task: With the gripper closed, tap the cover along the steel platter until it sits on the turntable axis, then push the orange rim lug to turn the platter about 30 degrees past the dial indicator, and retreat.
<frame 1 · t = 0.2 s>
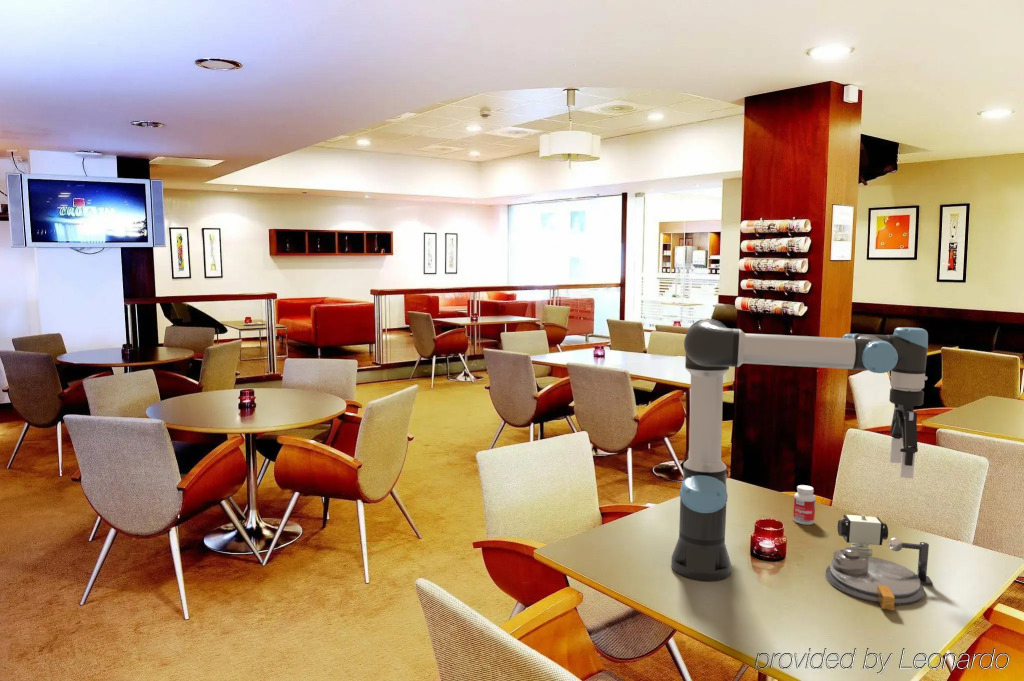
hand: (900, 469, 178), 27 cm above the table, fingers open, 13 cm apart
pneumatic valve: (860, 557, 190), on the table
cover: (850, 569, 175), point 3 cm above the table, touching turntable
turntable: (876, 578, 171), point 3 cm above the table, hinge at 0.0°, touching cover
turntable base: (873, 583, 174), on the table
pill bottle: (803, 522, 215), on the table
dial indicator: (921, 581, 175), on the table
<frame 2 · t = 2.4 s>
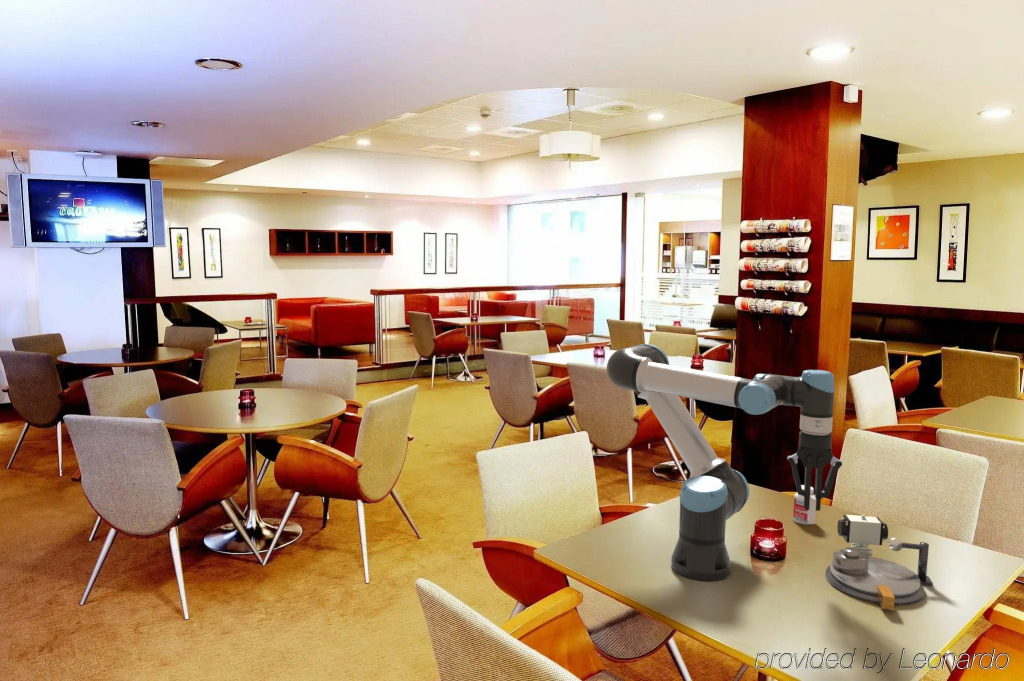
hand: (811, 521, 177), 14 cm above the table, fingers closed
nothing on the table moved.
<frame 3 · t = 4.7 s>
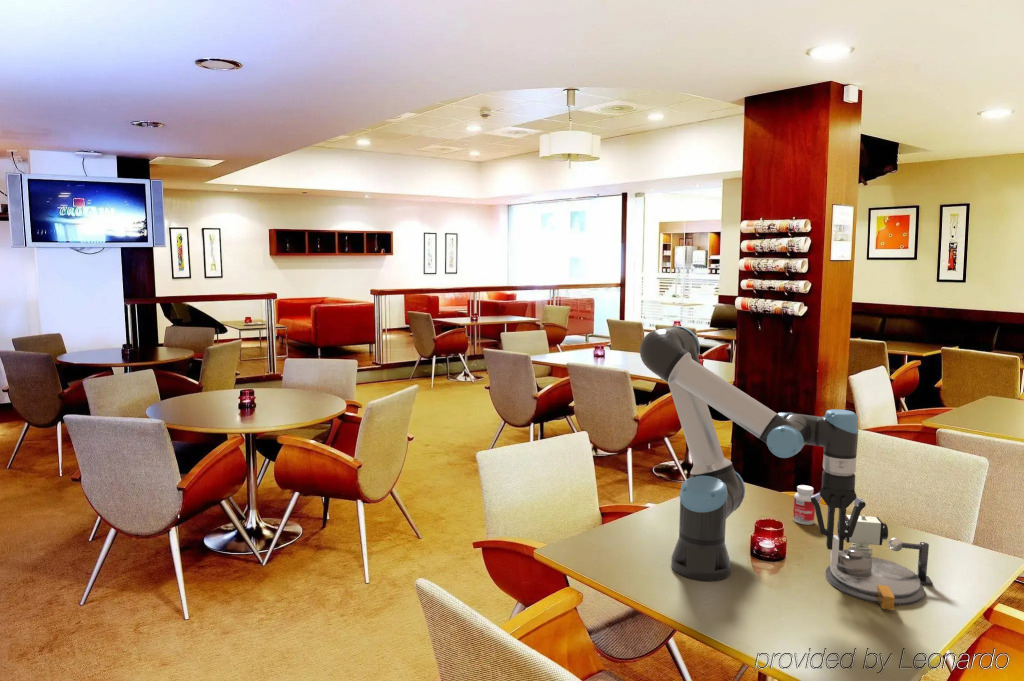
hand: (833, 561, 176), 5 cm above the table, fingers closed
nothing on the table moved.
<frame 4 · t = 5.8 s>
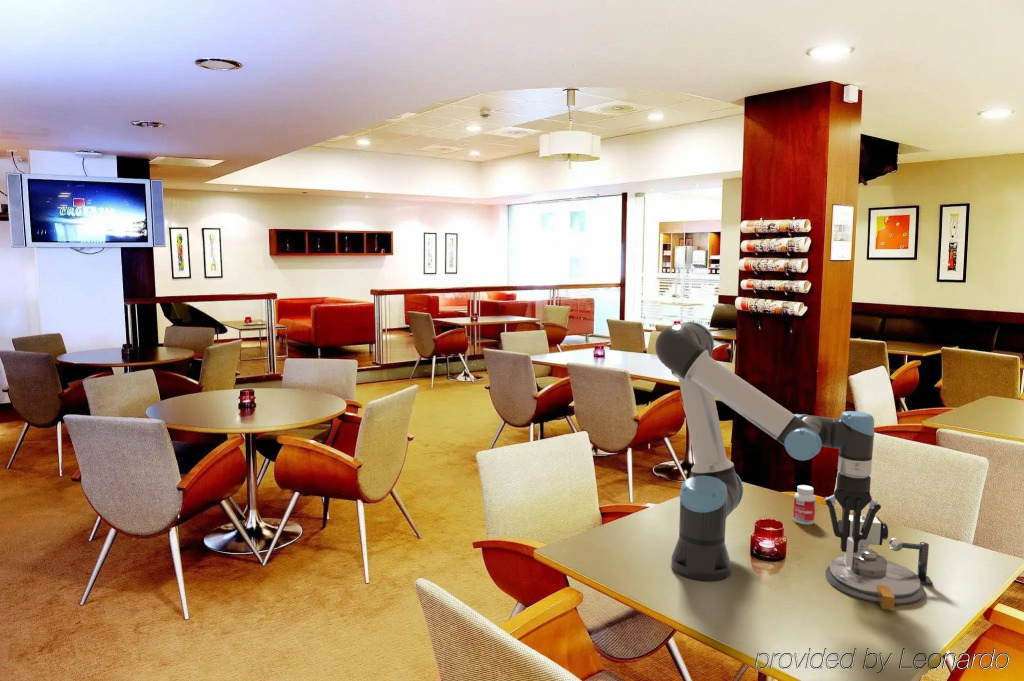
hand: (848, 563, 175), 4 cm above the table, fingers closed
cover: (868, 571, 174), point 3 cm above the table, touching gripper, turntable
everything else where it was.
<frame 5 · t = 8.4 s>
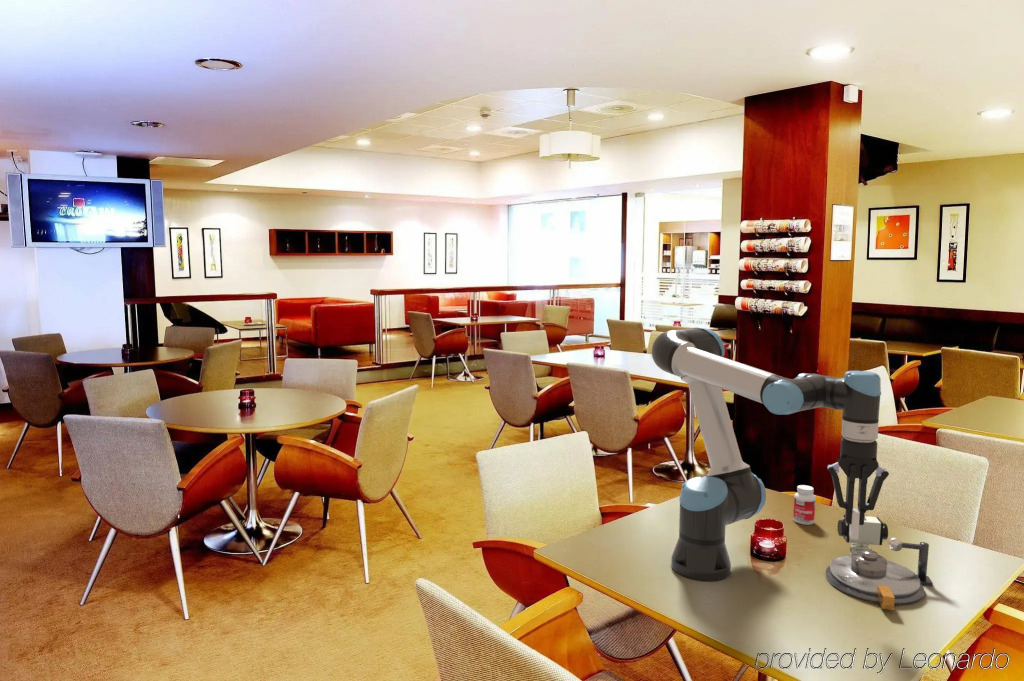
hand: (853, 537, 161), 17 cm above the table, fingers closed
cover: (868, 571, 174), point 3 cm above the table, touching turntable
everything else where it was.
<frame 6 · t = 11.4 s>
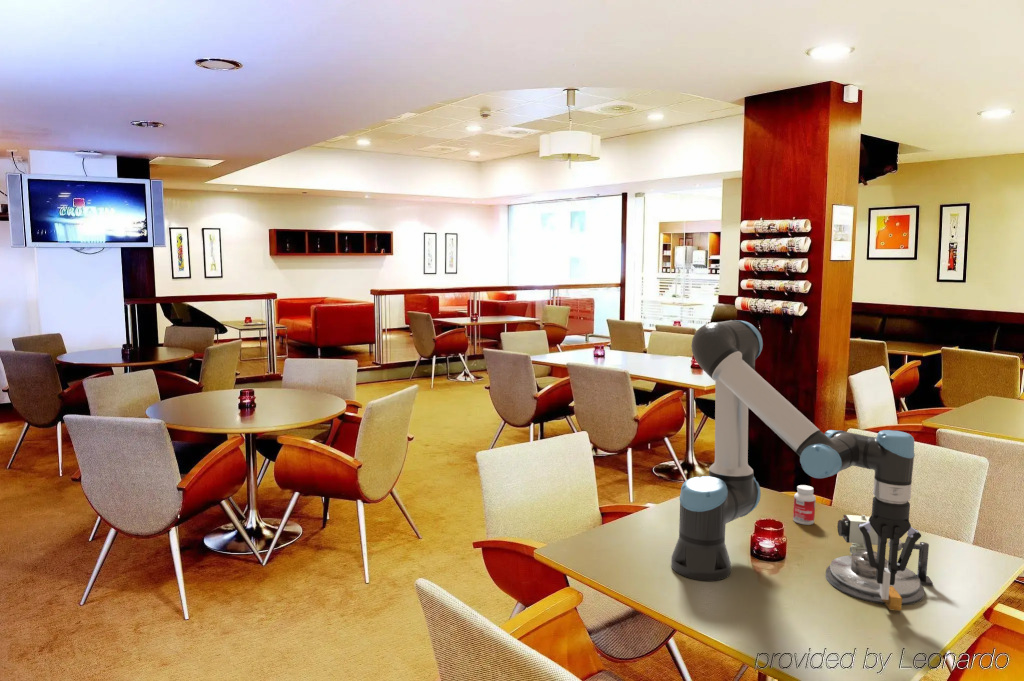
hand: (883, 596, 161), 3 cm above the table, fingers closed
turntable: (877, 579, 171), point 3 cm above the table, hinge at 5.8°, touching cover, gripper
everything else where it was.
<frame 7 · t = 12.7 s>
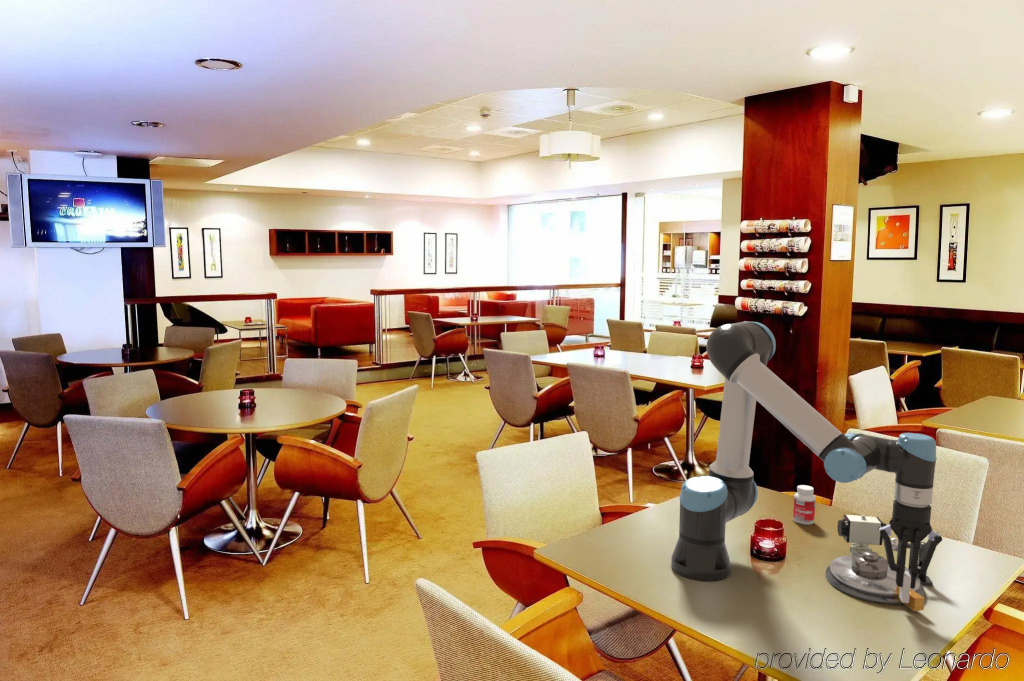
hand: (903, 600, 160), 3 cm above the table, fingers closed
turntable: (881, 579, 171), point 3 cm above the table, hinge at 25.5°, touching cover, gripper
everything else where it was.
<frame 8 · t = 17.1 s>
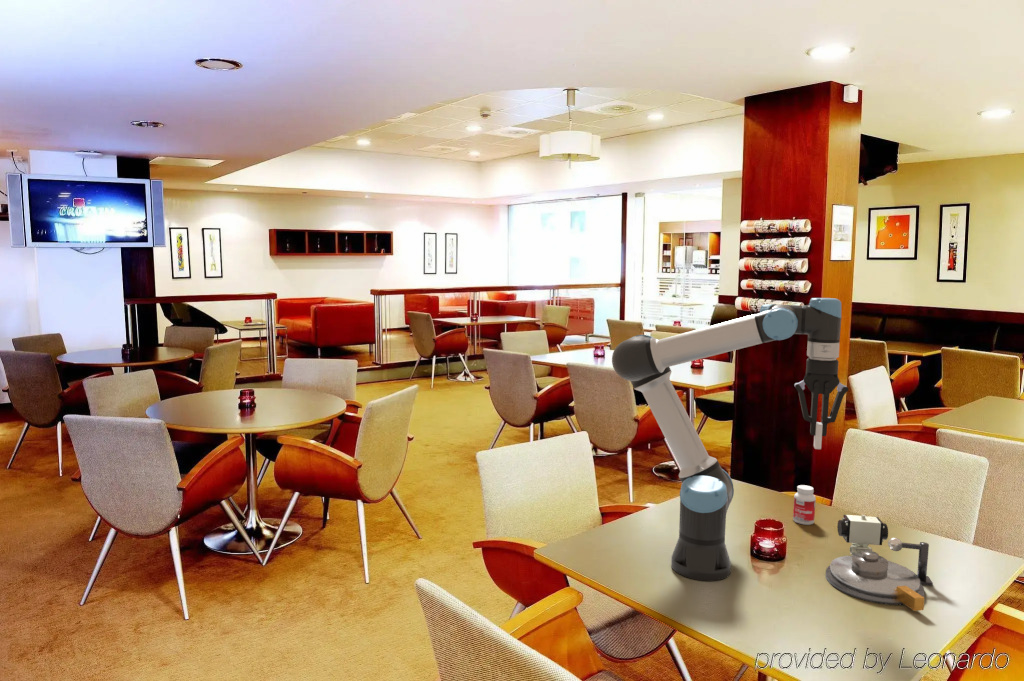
hand: (817, 447, 180), 32 cm above the table, fingers closed
turntable: (881, 579, 171), point 3 cm above the table, hinge at 25.6°, touching cover
everything else where it was.
at the end: cover 1.3 cm from the turntable (horizontally); cover point 3.0 cm above the table; turntable at +26° (first picture: +0°) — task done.
